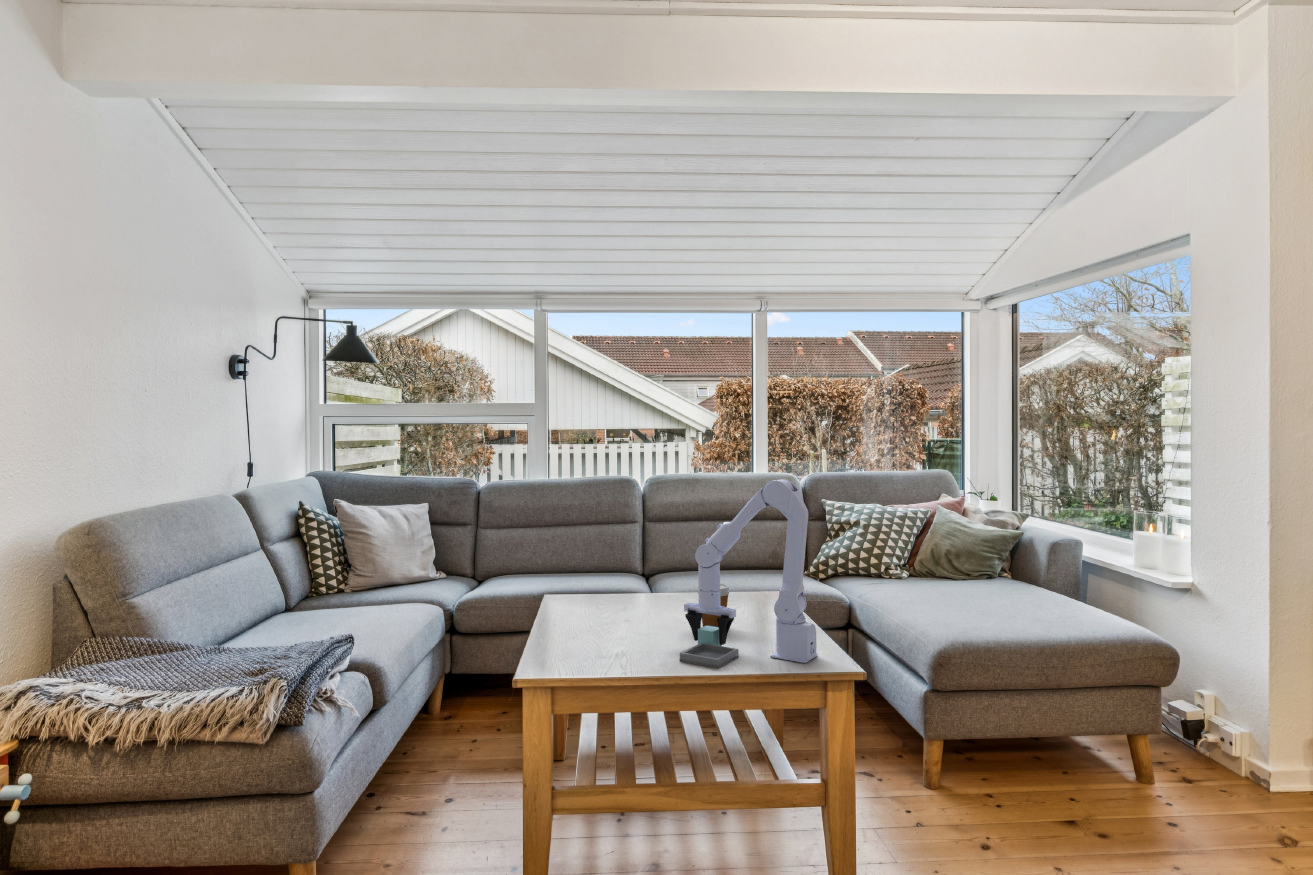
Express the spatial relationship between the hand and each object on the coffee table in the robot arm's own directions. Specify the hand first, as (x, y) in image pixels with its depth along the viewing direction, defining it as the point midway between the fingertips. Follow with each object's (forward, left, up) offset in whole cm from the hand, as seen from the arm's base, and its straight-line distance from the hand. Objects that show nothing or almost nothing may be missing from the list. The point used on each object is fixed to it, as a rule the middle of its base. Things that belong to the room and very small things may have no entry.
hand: (709, 641), depth 187 cm
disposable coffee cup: (+9, -18, -2) cm, 20 cm away
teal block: (0, 0, -2) cm, 2 cm away
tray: (-5, +9, -1) cm, 10 cm away
